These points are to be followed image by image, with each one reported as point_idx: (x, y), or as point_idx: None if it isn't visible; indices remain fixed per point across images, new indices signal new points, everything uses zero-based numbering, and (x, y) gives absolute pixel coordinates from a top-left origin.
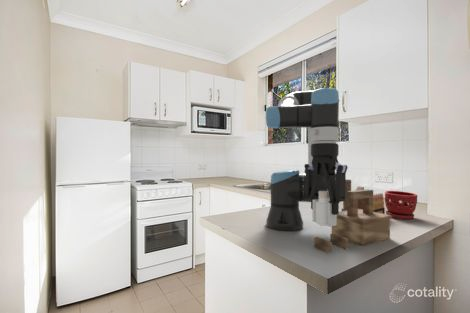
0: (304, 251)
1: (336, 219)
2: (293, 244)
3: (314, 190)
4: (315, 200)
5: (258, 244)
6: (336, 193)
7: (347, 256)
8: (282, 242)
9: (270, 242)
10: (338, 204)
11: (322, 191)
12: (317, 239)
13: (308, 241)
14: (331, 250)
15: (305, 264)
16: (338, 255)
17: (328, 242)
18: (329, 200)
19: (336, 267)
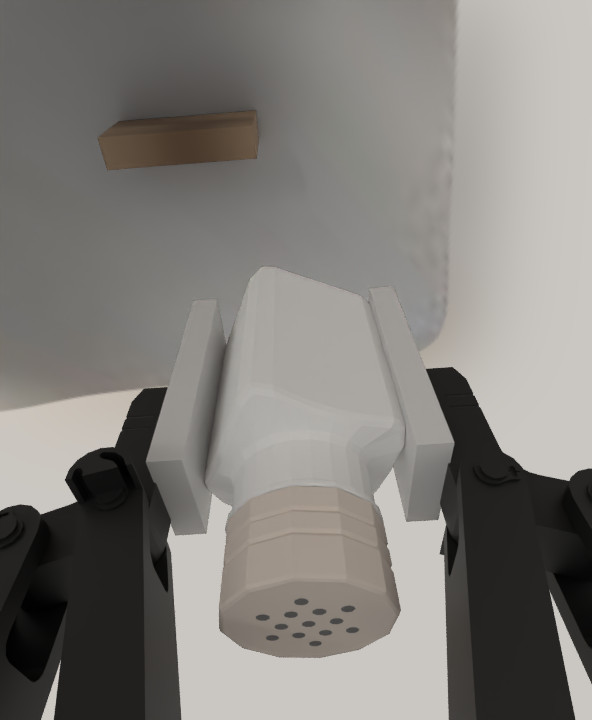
0: (182, 260)
1: (403, 314)
2: (58, 248)
3: (176, 661)
4: (205, 518)
5: (35, 401)
6: (586, 646)
7: (349, 59)
8: (14, 286)
9: (8, 342)
10: (497, 447)
11: (296, 636)
12: (142, 165)
13: (6, 103)
14: (255, 121)
15: None
16: (309, 109)
17: (240, 152)
18: (370, 486)
19: (409, 253)
